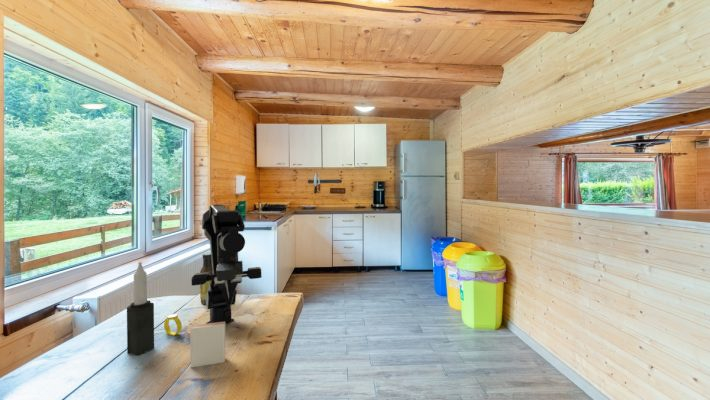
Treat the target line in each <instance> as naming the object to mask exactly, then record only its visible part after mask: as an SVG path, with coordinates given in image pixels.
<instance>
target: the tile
mask: <svg viewBox="0 0 710 400" xmlns="http://www.w3.org/2000/svg"><path fill="white" fill-rule="evenodd" d="M189 345H190V368H197V367H202V366H203V367H204V366H209V365H215V364H222V363H225V362H226V354H227V353H226V351H227V350H226V325H225V322H216V323H208V324H206V323H201V324H194V325H193V324H192V325H191V327H190V344H189Z"/></svg>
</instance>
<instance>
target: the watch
mask: <svg viewBox="0 0 710 400" xmlns="http://www.w3.org/2000/svg"><path fill="white" fill-rule="evenodd" d="M178 316H179V315H178V314H177V313H173V314H169V315H167V317H166V318H165V320H164V322H163V327H164V330H165V333H166V334H167V335H169V336H173V337H175V336H177V335H178V334H180V333H181V332H182V329H183V328H182V327H183V326H182V321H181V319H180V318H179V317H178ZM170 320H173V321H174V322H175V325H176V332H175V331H172V330H171V328H170Z"/></svg>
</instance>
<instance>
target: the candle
mask: <svg viewBox="0 0 710 400" xmlns="http://www.w3.org/2000/svg"><path fill="white" fill-rule="evenodd" d="M142 264H143V262H142V261H139V262H138V266H137V268H136V271H135V272H134V274H133V302H131V303H130V304H129V305H128V306H127V307H126V337H127V338H126V341H127V344H126V348H127V349H126V353H127V354H130V355H134V356H142V355H143V354H146V353H147V352H150V351H151V350H153V349H154V348H155V306H154V305H155V304H154V303H153V302H151V300H148V296H147V295H148V294H147V293H148V290H147V289H148V287H147V286H148V284H147V283H148V281H147V278H148V277H147V272H146V271H145V269H144V268H143V265H142Z"/></svg>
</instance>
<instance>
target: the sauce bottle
mask: <svg viewBox="0 0 710 400" xmlns="http://www.w3.org/2000/svg"><path fill="white" fill-rule="evenodd" d="M202 262H203V263H202V267H201V269H200V271H199V273H204V272H209V273H210V274H213V273H212V261H211V252H205V253H202ZM210 283H211V281H206V282H205V283H204V284H203V285H199V297H200V298H199V299H200V303H201V304H203V305H206V295H207V291H209V286H210Z"/></svg>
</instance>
